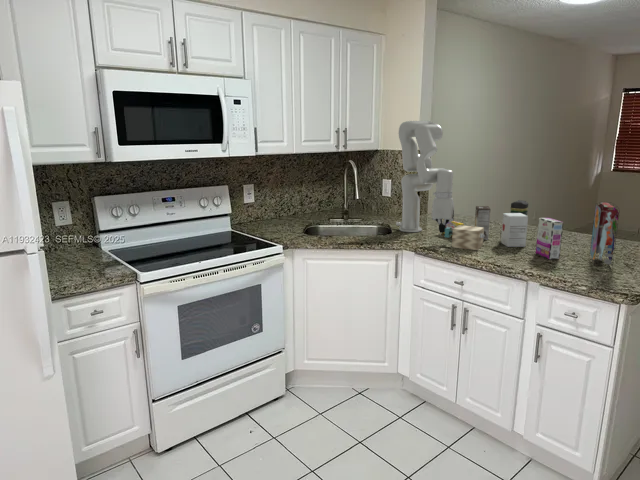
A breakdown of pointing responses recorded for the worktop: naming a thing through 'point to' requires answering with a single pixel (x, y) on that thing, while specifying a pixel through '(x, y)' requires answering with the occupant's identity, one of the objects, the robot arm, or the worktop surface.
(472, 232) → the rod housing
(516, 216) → the supplement box
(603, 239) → the box
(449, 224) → the candy box
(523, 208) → the coffee jar
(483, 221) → the coffee box
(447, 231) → the teal and silver rod
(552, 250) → the candy bar box
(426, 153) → the robot arm
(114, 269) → the worktop surface
